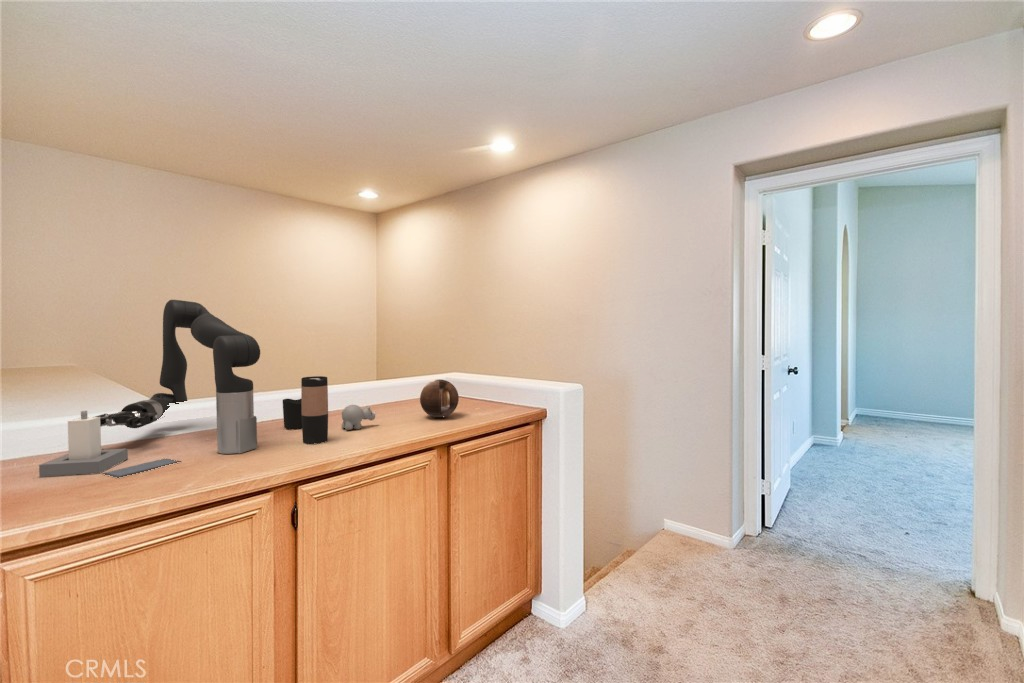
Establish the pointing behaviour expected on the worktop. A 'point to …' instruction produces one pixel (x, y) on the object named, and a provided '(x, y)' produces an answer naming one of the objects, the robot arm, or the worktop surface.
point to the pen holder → (292, 413)
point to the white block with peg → (84, 437)
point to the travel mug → (314, 409)
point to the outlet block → (82, 464)
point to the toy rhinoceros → (356, 416)
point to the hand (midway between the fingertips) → (109, 424)
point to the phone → (140, 468)
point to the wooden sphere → (439, 398)
